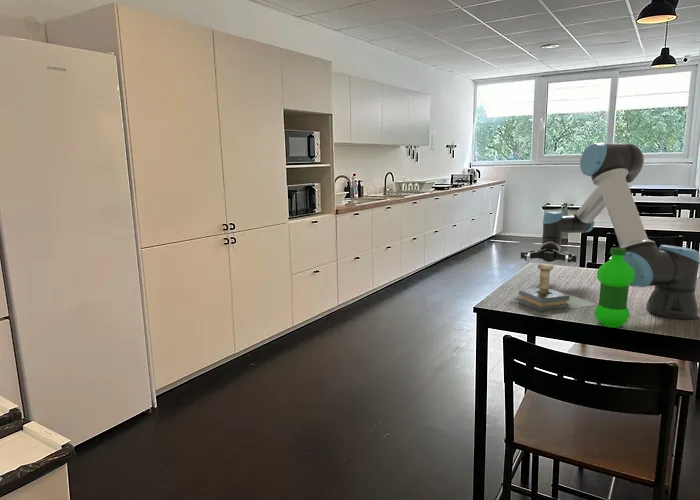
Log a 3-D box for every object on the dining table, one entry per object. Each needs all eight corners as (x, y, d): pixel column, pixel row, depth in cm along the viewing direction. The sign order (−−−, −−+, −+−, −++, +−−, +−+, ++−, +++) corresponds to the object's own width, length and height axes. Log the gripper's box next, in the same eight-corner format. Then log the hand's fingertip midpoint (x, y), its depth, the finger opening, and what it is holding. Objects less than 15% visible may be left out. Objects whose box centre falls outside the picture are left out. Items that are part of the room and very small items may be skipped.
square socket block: (568, 308, 172) (569, 295, 171) (541, 312, 168) (542, 298, 167) (544, 299, 183) (545, 286, 182) (518, 303, 179) (519, 290, 178)
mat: (598, 305, 176) (598, 304, 176) (572, 309, 172) (572, 308, 172) (569, 295, 189) (569, 294, 189) (544, 298, 185) (544, 297, 185)
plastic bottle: (617, 319, 161) (625, 245, 156) (635, 330, 150) (644, 251, 146) (587, 319, 161) (594, 245, 156) (602, 330, 151) (610, 251, 146)
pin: (553, 307, 174) (556, 265, 172) (541, 308, 173) (544, 267, 170) (543, 303, 179) (546, 263, 176) (532, 304, 177) (535, 264, 175)
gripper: (582, 262, 197) (582, 273, 178) (517, 258, 207) (511, 267, 188) (583, 244, 195) (584, 252, 176) (518, 241, 206) (512, 248, 187)
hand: (546, 260), depth 182 cm, fingers open, 13 cm apart
